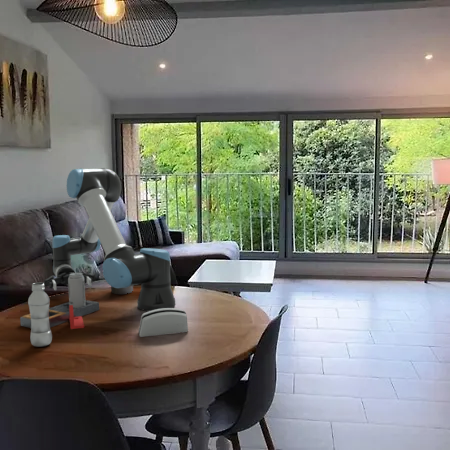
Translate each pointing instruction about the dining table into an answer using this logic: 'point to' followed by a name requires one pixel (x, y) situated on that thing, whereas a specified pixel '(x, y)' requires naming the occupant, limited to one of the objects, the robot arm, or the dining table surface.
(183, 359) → the dining table surface
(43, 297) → the plastic bottle
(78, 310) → the grey compartment tray
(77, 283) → the energy drink can
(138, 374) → the dining table surface
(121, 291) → the pillar candle
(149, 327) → the white plastic holder
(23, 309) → the dining table surface
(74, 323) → the bracket
